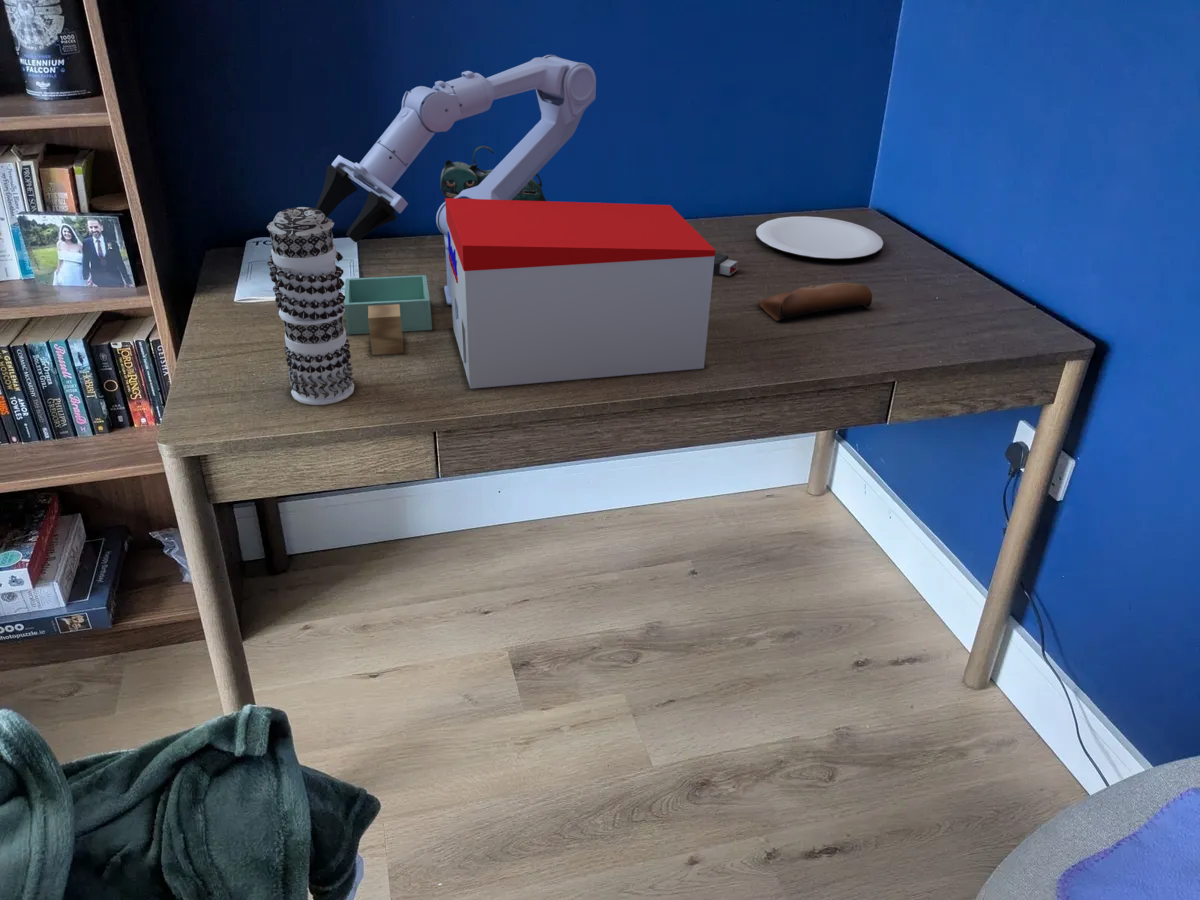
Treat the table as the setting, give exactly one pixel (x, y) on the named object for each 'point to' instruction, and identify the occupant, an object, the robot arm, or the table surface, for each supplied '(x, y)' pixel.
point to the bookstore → (575, 290)
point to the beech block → (385, 329)
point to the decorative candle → (311, 305)
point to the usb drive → (724, 265)
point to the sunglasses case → (816, 299)
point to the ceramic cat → (480, 180)
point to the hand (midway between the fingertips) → (334, 227)
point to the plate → (819, 238)
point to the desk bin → (388, 301)
